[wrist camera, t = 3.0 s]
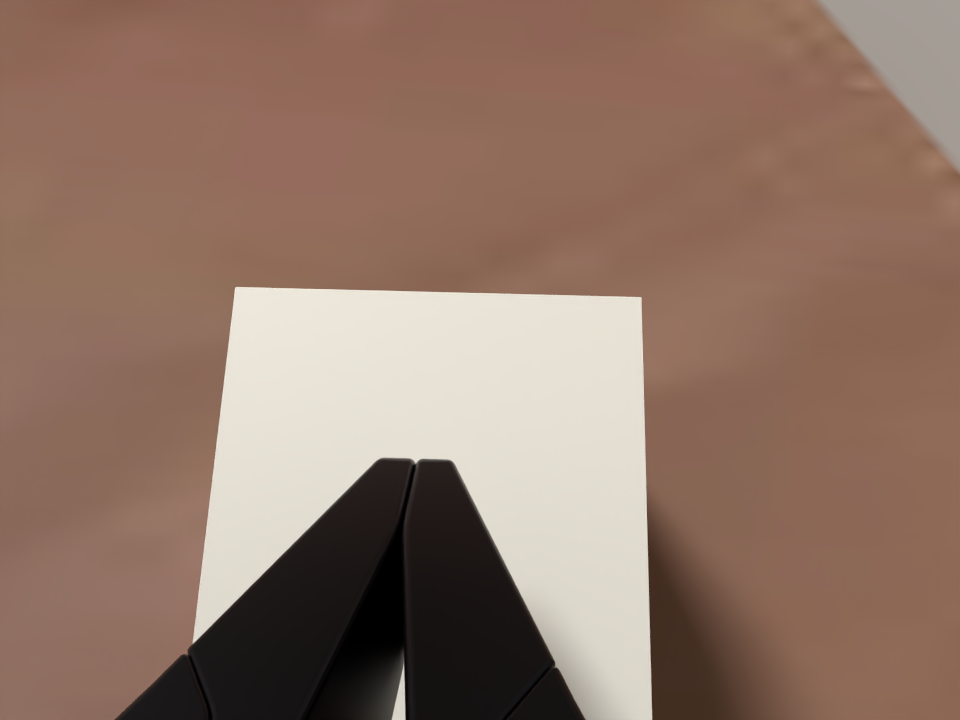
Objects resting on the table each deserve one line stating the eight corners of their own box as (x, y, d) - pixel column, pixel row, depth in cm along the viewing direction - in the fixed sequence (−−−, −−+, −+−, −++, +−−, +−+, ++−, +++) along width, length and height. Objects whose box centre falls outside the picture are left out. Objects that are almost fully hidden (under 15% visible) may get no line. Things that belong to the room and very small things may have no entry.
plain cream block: (580, 670, 18) (652, 743, 10) (315, 661, 18) (182, 727, 10) (579, 409, 19) (641, 297, 12) (335, 402, 19) (235, 287, 12)
